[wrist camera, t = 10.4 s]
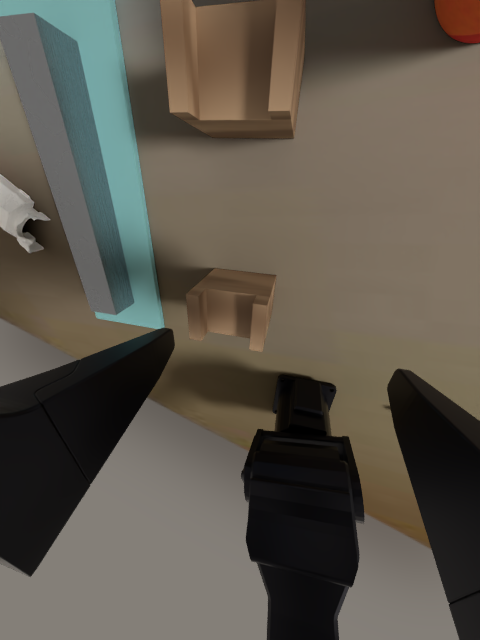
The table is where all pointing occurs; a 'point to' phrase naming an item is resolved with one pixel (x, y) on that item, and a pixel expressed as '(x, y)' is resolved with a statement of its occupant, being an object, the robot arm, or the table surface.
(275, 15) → the stand
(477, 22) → the coffee cup
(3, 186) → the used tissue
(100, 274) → the rail
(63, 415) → the robot arm
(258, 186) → the table surface
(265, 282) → the stand
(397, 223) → the table surface
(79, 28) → the mat
